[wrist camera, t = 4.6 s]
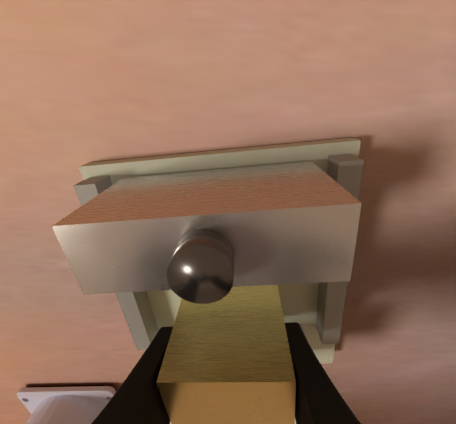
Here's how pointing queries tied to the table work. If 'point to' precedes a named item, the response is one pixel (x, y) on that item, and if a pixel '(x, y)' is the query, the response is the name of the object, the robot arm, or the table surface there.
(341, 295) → the vise
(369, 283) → the table surface
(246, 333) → the block
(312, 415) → the robot arm
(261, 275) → the block
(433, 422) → the table surface
